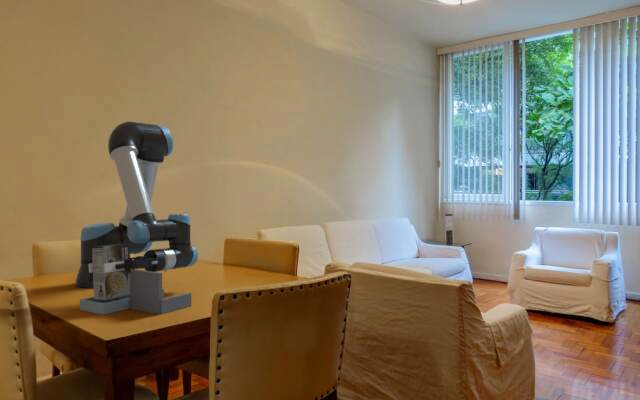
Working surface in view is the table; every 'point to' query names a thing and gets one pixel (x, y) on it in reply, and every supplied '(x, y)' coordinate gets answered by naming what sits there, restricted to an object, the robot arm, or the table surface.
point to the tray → (105, 305)
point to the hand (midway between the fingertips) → (97, 268)
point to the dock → (153, 294)
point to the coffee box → (114, 281)
